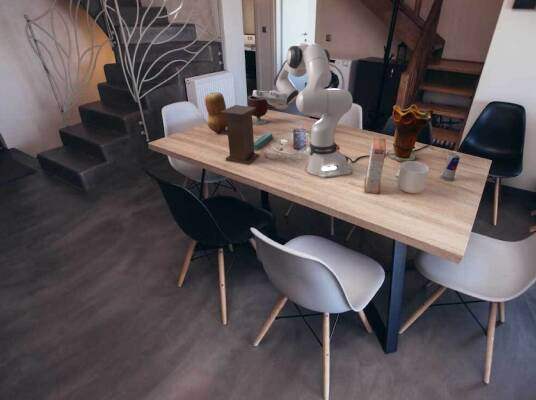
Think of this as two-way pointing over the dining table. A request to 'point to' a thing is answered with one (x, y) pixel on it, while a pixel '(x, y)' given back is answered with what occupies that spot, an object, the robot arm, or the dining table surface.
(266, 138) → the batten
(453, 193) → the dining table surface
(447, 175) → the energy drink
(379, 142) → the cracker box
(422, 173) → the handleless ceramic cup
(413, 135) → the decorative vase
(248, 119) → the plinth
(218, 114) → the butternut squash
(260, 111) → the mate gourd
